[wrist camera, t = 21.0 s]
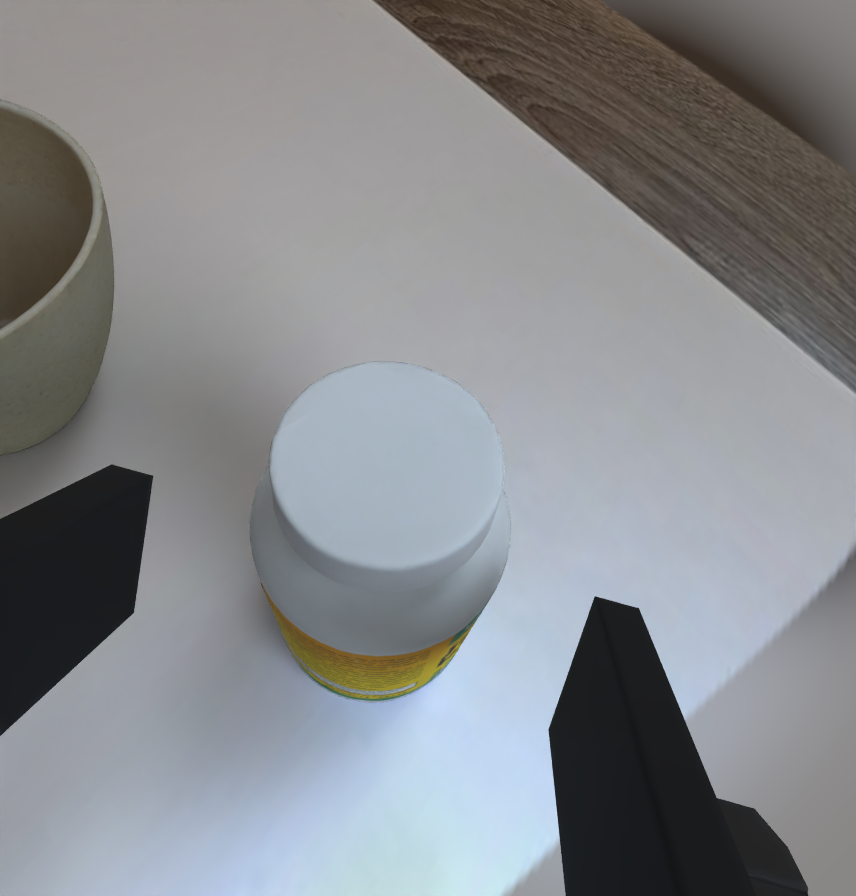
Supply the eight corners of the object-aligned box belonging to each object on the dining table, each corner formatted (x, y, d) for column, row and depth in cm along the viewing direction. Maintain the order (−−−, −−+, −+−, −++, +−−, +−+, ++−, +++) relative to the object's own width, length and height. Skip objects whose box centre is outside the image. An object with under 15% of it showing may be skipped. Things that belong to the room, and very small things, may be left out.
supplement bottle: (306, 509, 21) (275, 301, 13) (476, 541, 21) (556, 354, 13) (257, 687, 18) (177, 573, 10) (451, 724, 18) (533, 641, 10)
